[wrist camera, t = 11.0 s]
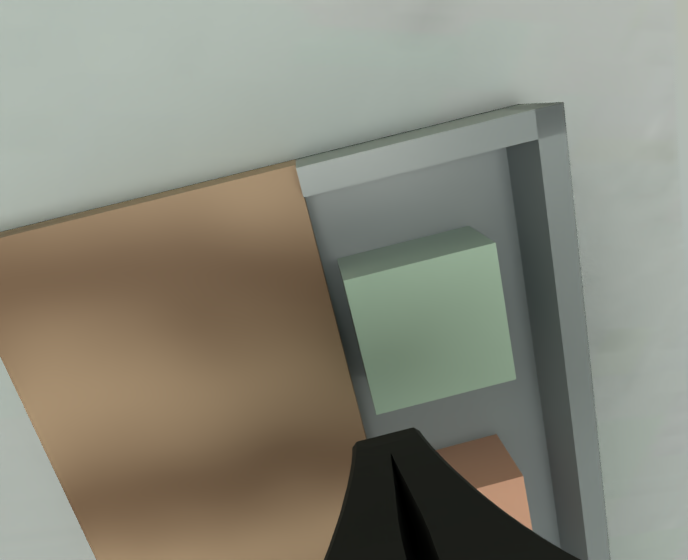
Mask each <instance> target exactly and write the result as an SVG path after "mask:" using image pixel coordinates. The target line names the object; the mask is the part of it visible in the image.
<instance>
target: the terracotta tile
mask: <svg viewBox="0 0 688 560" xmlns="http://www.w3.org/2000/svg"><path fill="white" fill-rule="evenodd" d="M436 451H437V452H438V453H439V454H440V455H441V456H442V457H443V458H444V459H445V461H446V462H448V463H449V464H450V465H451V466H452V467H453V468H454V469H455V470H456V471H457V472H458V473H459V474H460V475H461V476H462V477H464V478H465V479H466V480H467V481H468V482H469V483H470V484H471V485H472V486H474V487H475V488H476V489H477V490H478V491H479V492H481V493H482V494H483V495H484V496H485V497H487V498H488V499H489V500H491V501H492V502H493V503H494V504H496V505H497V506H498V507H499V508H501V509H502V510H503V511H505V512H506V513H507V514H509V515H510V516H511V517H513V518H514V519H516V520H517V521H519V522H520V523H521V524H523V525H524V526H526V527H527V528H529V529H530V530H532V524H531V519H530V513H529V507H528V501H527V495H526V489H525V483H524V477H523V475H522V473H521V472H520V470H519V469H518V467H517V465H516V464H515V462H514V461H513V459H512V458H511V456H510V454H509V453H508V451H507V450H506V448H505V446H504V445H503V443H502V442H501V440H500V439H499V437H498V435H497V434H495V435H491V436H487V437H483V438H480V439H476V440H472V441H468V442H465V443H461V444H457V445H453V446H450V447H446V448H442V449H438V450H436ZM532 531H533V530H532Z"/></svg>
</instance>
